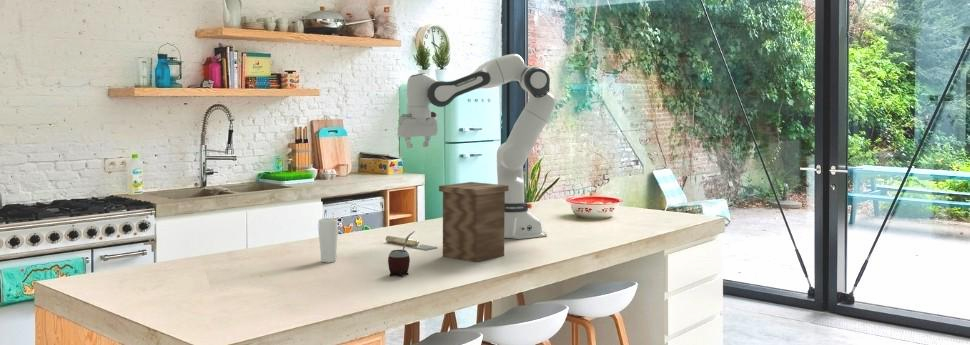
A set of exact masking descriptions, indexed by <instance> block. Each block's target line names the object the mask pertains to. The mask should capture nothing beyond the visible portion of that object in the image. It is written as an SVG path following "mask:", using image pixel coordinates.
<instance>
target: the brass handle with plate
mask: <svg viewBox="0 0 970 345" xmlns="http://www.w3.org/2000/svg"><path fill="white" fill-rule="evenodd" d="M405 239H406V237H398V236H392V235H387V236H386V237H385V242H386V243H391V244H395V245H396V244H397V245H403V246H404V244H405V241H406V240H405ZM406 246H409V247H411V249H415V250H421V251H431V250H436V249H438V246H433V245H427V244H420V241H419V240H418V239H410V238H409V239H408V241H407V243H406Z"/></svg>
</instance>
